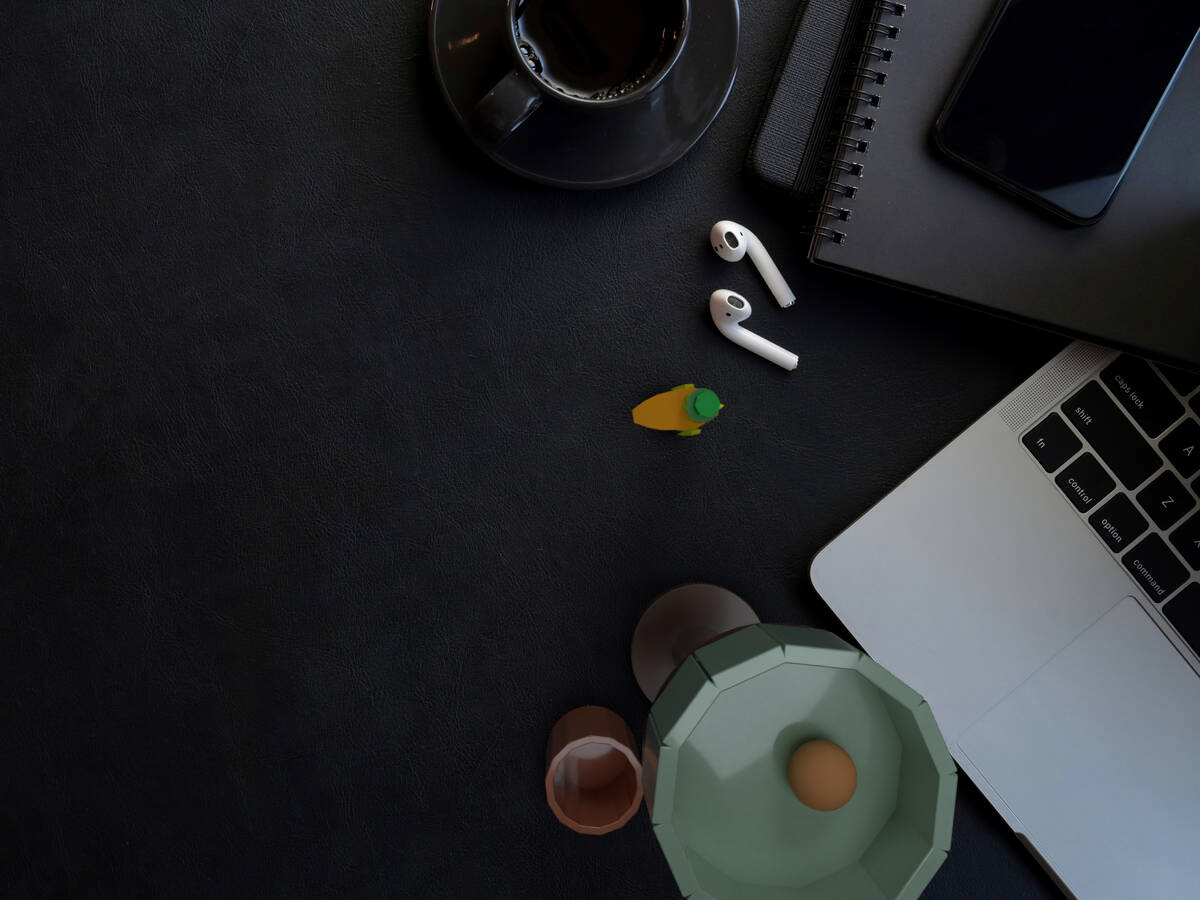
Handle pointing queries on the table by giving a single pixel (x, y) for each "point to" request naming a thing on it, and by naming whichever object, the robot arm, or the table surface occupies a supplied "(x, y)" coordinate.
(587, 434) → the table surface
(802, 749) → the ball
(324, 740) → the table surface
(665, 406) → the toy figure
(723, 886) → the green bowl
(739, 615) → the brown pedestal stand
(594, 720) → the holder
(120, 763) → the table surface
